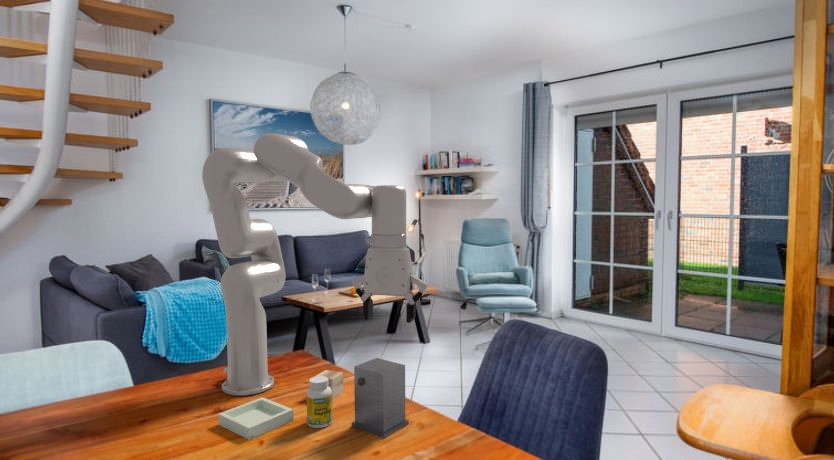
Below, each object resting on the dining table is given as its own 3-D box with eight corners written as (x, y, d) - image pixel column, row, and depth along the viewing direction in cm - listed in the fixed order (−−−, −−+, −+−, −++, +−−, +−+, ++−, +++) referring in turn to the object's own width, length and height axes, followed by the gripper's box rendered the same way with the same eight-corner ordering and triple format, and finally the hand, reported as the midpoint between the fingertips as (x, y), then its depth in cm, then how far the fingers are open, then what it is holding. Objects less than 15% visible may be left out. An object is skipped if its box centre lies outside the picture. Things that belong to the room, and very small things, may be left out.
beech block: (314, 396, 122) (314, 376, 122) (326, 389, 127) (325, 369, 127) (332, 400, 120) (332, 379, 120) (343, 392, 125) (343, 372, 125)
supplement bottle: (326, 415, 112) (325, 372, 111) (336, 424, 107) (336, 380, 107) (303, 421, 109) (302, 378, 108) (312, 431, 104) (311, 385, 104)
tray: (218, 424, 107) (218, 413, 107) (262, 407, 116) (262, 397, 116) (249, 440, 101) (249, 428, 101) (293, 420, 110) (293, 409, 109)
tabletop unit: (351, 426, 107) (350, 366, 106) (377, 413, 113) (376, 356, 112) (383, 438, 101) (383, 375, 100) (408, 424, 108) (408, 365, 107)
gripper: (345, 242, 109) (346, 320, 110) (422, 245, 104) (422, 327, 105) (359, 239, 116) (359, 313, 118) (432, 241, 111) (431, 318, 113)
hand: (389, 319), depth 111 cm, fingers open, 9 cm apart
